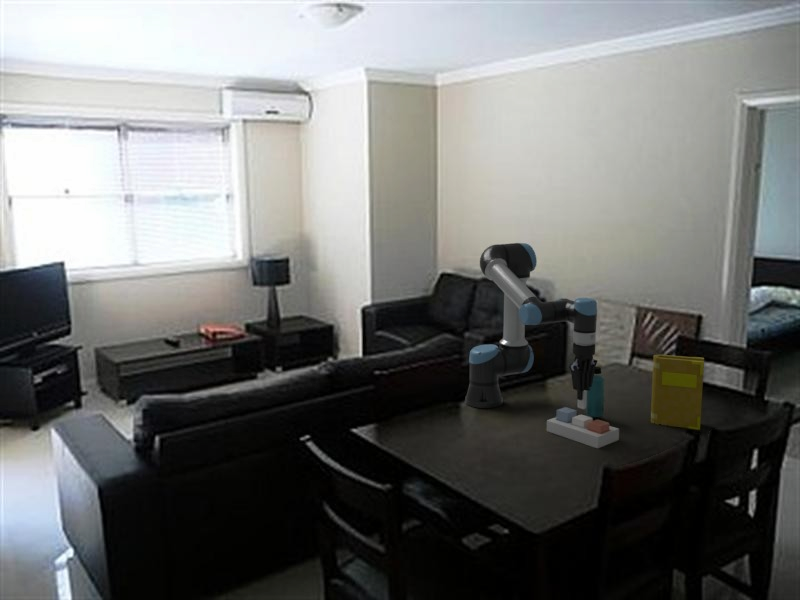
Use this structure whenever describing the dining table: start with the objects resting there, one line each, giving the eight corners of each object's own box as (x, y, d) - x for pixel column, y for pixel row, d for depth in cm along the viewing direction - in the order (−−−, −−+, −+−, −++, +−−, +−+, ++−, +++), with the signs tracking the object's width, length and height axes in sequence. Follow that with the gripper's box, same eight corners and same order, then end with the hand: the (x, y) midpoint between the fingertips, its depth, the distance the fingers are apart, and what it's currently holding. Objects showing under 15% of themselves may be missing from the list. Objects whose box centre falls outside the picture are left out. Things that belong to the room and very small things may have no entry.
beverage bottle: (604, 421, 258) (605, 369, 254) (585, 420, 259) (587, 369, 256) (602, 415, 264) (604, 365, 261) (584, 415, 265) (586, 364, 262)
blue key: (556, 423, 250) (556, 410, 249) (565, 420, 253) (565, 407, 252) (567, 426, 246) (567, 413, 245) (576, 423, 249) (576, 410, 248)
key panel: (546, 430, 249) (546, 420, 249) (567, 423, 257) (568, 413, 256) (597, 448, 232) (597, 437, 231) (618, 439, 239) (619, 428, 239)
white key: (571, 430, 245) (572, 417, 244) (580, 427, 248) (581, 414, 247) (583, 434, 241) (583, 421, 240) (592, 431, 244) (592, 417, 243)
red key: (588, 436, 239) (588, 422, 238) (597, 432, 242) (597, 419, 241) (600, 440, 235) (600, 426, 234) (609, 436, 238) (609, 423, 237)
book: (700, 423, 253) (704, 357, 249) (699, 429, 247) (703, 362, 243) (651, 418, 260) (654, 353, 256) (649, 423, 254) (652, 358, 250)
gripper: (581, 348, 232) (578, 414, 236) (604, 342, 240) (602, 406, 244) (563, 344, 238) (561, 409, 242) (587, 338, 246) (584, 401, 250)
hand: (581, 407), depth 243 cm, fingers closed
